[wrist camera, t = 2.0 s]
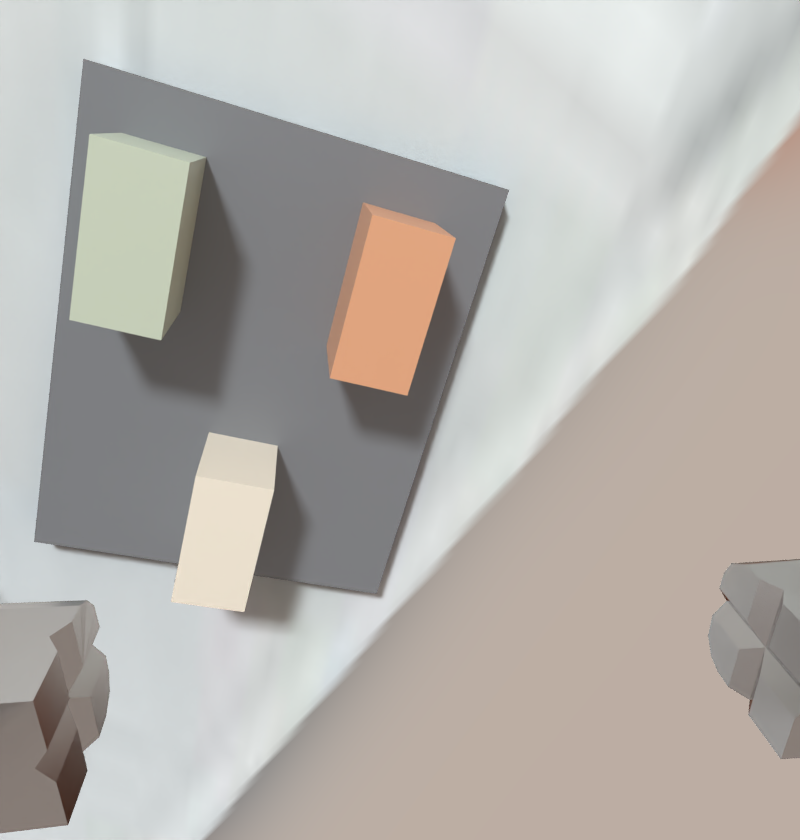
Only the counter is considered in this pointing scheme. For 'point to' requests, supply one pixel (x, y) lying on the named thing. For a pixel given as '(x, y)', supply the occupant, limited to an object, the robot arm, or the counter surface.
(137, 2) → the counter surface
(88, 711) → the robot arm
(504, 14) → the counter surface
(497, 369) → the counter surface
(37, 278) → the counter surface
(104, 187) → the sage brick
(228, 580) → the cream brick
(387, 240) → the terracotta brick
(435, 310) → the baseplate
